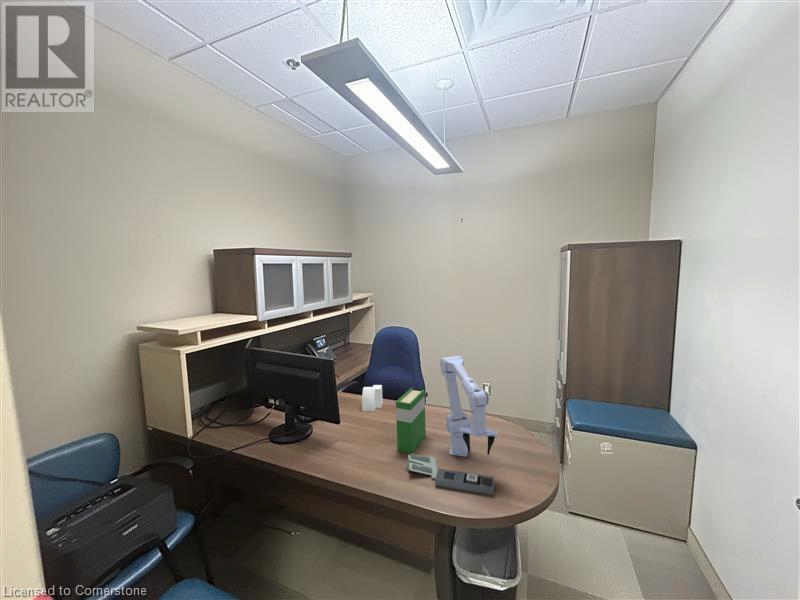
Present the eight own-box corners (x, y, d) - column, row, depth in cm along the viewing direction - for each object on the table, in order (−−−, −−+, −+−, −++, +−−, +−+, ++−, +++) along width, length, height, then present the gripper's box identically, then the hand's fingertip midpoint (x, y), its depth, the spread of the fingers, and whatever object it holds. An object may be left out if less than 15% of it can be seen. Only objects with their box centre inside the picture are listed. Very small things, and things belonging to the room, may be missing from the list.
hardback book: (412, 432, 171) (411, 388, 169) (425, 435, 168) (424, 390, 165) (397, 450, 156) (395, 401, 153) (412, 453, 152) (410, 404, 150)
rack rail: (438, 475, 136) (438, 468, 136) (493, 484, 130) (493, 476, 130) (435, 486, 130) (435, 479, 129) (493, 496, 123) (493, 488, 123)
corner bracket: (382, 403, 208) (381, 385, 207) (379, 411, 197) (379, 392, 196) (366, 403, 209) (365, 384, 208) (362, 411, 198) (361, 392, 197)
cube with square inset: (467, 482, 131) (467, 473, 131) (477, 484, 130) (477, 474, 130) (466, 489, 128) (466, 479, 127) (477, 491, 126) (476, 481, 126)
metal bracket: (409, 468, 133) (407, 447, 148) (405, 481, 133) (404, 459, 148) (443, 476, 134) (438, 454, 148) (439, 489, 134) (434, 466, 149)
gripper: (459, 423, 132) (459, 455, 133) (497, 427, 127) (497, 460, 129) (461, 415, 138) (461, 445, 140) (497, 418, 134) (497, 450, 136)
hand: (478, 452), depth 135 cm, fingers open, 7 cm apart
